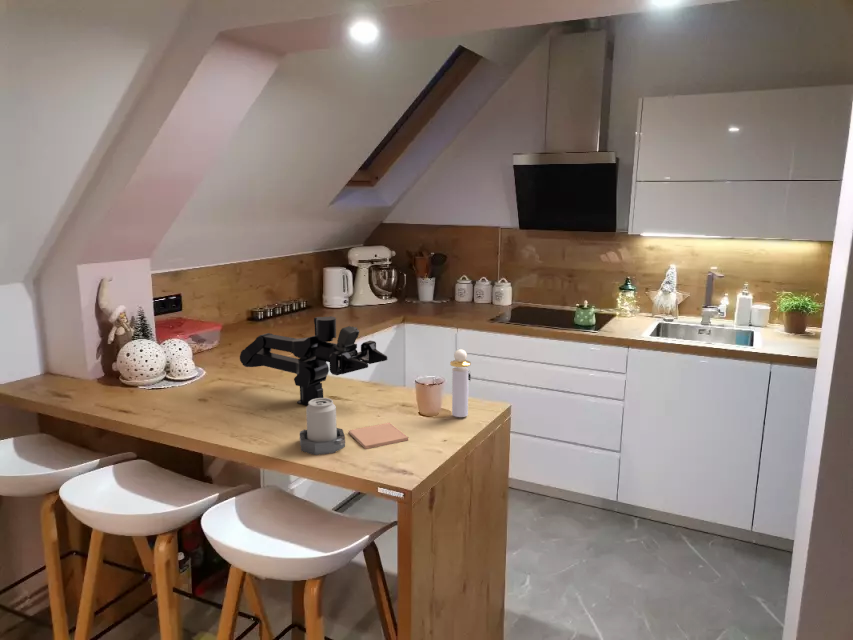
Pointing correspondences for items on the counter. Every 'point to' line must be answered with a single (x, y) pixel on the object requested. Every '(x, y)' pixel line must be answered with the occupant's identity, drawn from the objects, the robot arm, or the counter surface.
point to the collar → (322, 444)
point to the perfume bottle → (460, 383)
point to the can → (321, 420)
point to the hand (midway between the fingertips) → (377, 362)
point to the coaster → (378, 435)
